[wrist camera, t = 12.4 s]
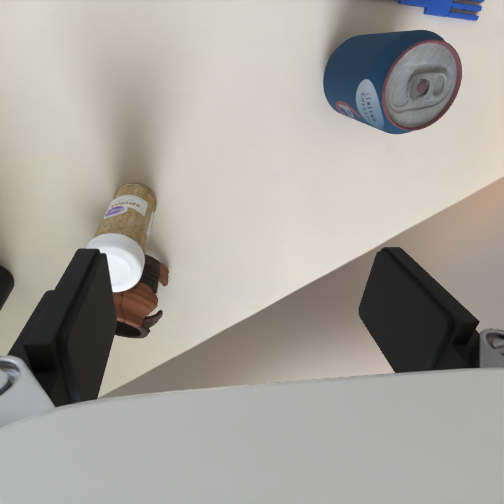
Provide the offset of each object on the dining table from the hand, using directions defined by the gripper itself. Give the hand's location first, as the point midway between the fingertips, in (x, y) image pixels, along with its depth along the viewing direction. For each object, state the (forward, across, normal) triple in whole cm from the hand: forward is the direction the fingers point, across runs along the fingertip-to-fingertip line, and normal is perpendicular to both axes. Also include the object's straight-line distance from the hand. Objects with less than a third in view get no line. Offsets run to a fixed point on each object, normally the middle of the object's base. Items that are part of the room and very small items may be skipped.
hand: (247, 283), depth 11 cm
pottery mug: (+26, +10, +18) cm, 34 cm away
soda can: (+26, -14, -6) cm, 31 cm away
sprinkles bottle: (+26, +8, +8) cm, 29 cm away
